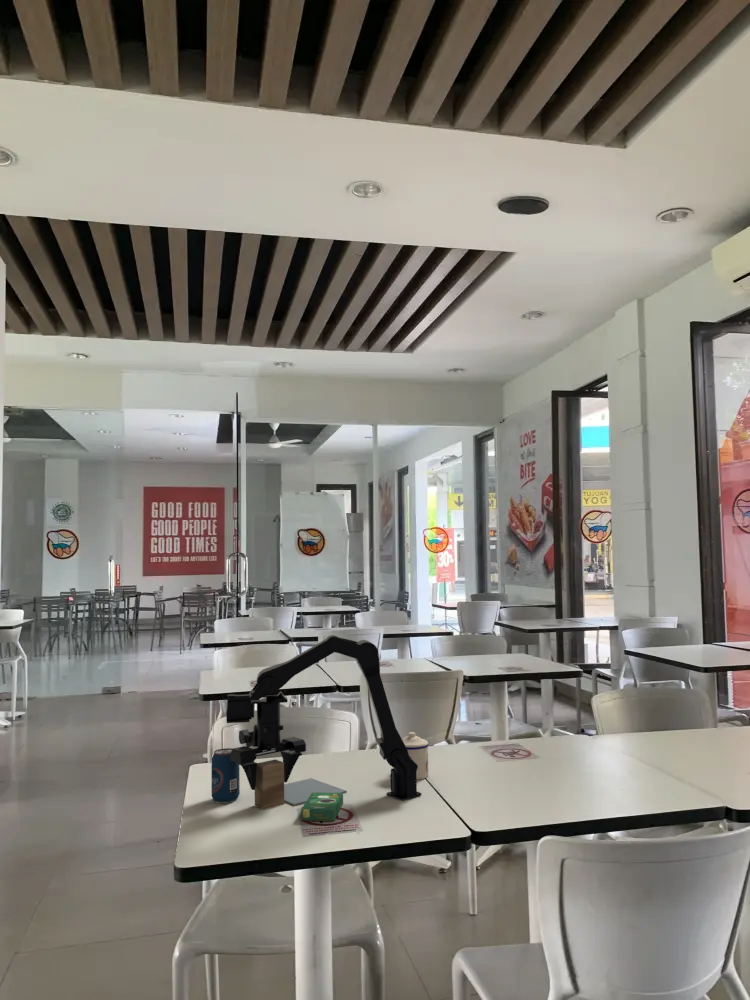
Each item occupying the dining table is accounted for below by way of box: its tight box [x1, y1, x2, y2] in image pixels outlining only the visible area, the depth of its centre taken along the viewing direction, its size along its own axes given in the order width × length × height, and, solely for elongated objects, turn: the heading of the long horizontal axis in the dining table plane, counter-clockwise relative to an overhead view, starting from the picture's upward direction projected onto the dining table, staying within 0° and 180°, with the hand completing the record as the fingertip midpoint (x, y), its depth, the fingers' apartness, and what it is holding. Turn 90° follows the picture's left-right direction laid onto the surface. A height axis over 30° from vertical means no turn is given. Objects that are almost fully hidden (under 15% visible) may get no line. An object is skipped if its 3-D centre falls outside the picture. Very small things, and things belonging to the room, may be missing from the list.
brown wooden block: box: [254, 758, 285, 810], centre depth 190 cm, size 4×6×10 cm, turn 129°
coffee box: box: [300, 793, 344, 822], centre depth 184 cm, size 8×3×13 cm
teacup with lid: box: [402, 731, 429, 781], centre depth 215 cm, size 12×9×12 cm
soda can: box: [211, 747, 241, 804], centre depth 195 cm, size 7×7×12 cm
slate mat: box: [284, 777, 348, 807], centre depth 200 cm, size 16×16×1 cm
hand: (269, 785), depth 190 cm, fingers open, 9 cm apart
